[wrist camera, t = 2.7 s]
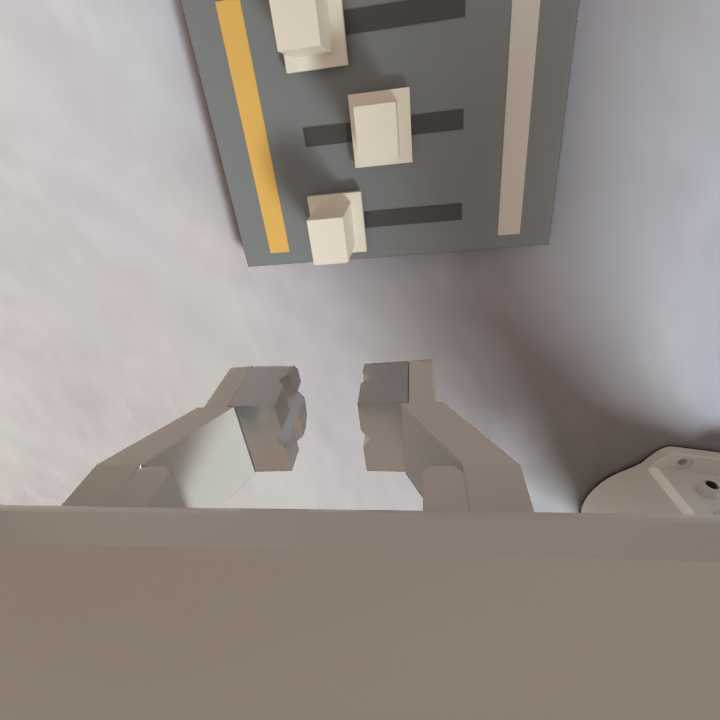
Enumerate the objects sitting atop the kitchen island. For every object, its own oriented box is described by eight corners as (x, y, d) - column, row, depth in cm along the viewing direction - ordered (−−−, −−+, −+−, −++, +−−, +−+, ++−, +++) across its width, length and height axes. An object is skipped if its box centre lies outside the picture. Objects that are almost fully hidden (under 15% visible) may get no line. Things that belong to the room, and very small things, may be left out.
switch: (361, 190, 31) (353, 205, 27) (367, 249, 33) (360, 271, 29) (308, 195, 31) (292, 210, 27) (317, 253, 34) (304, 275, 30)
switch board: (577, -74, 24) (590, -87, 23) (541, 237, 34) (548, 244, 32) (191, -7, 28) (177, -14, 26) (255, 259, 37) (248, 266, 35)
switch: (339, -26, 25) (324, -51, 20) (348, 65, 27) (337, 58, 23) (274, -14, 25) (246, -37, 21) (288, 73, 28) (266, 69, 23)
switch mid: (409, 87, 27) (409, 85, 23) (412, 161, 30) (412, 171, 25) (348, 95, 28) (337, 94, 24) (356, 167, 30) (347, 178, 26)
